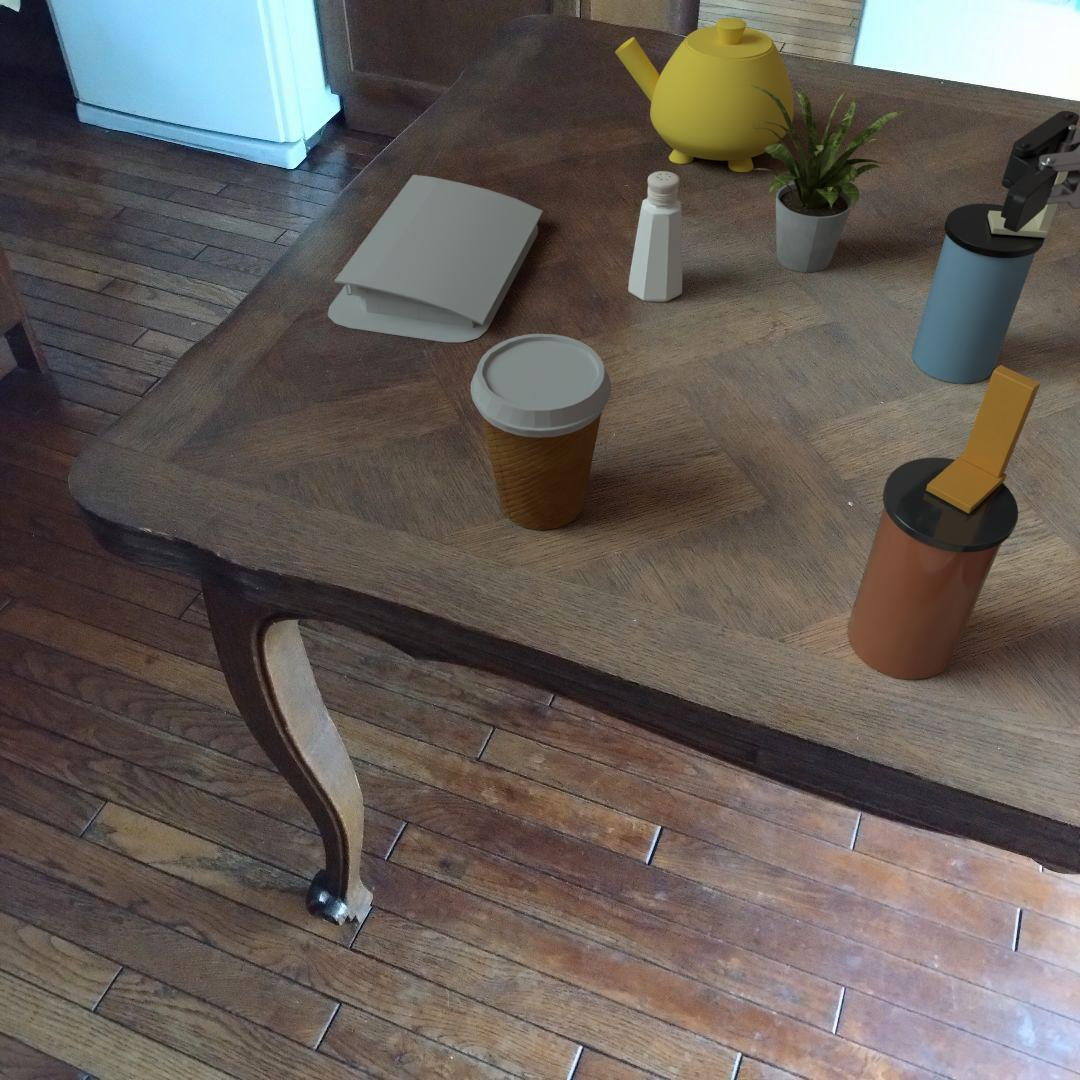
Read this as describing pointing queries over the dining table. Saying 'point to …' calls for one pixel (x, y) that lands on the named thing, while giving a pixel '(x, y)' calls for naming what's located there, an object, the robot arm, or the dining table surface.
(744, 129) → the teapot
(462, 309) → the book
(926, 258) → the dining table surface
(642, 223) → the salt shaker
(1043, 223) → the block
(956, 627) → the near tumbler
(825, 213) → the house plant
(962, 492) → the near slider
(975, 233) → the disc
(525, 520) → the disposable coffee cup
